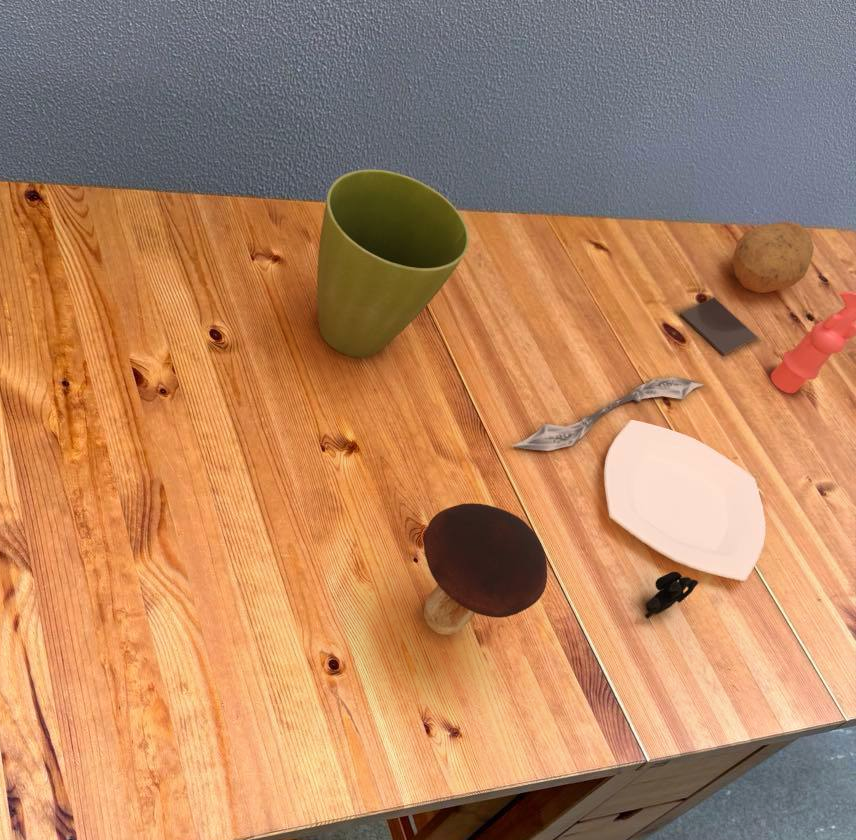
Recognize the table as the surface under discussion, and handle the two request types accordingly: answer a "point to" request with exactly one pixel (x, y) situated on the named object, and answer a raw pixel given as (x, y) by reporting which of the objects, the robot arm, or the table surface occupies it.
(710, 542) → the plate
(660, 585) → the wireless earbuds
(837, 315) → the figurine
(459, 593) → the decorative mushroom
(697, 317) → the coaster
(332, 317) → the flower pot
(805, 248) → the potato
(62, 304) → the table surface
